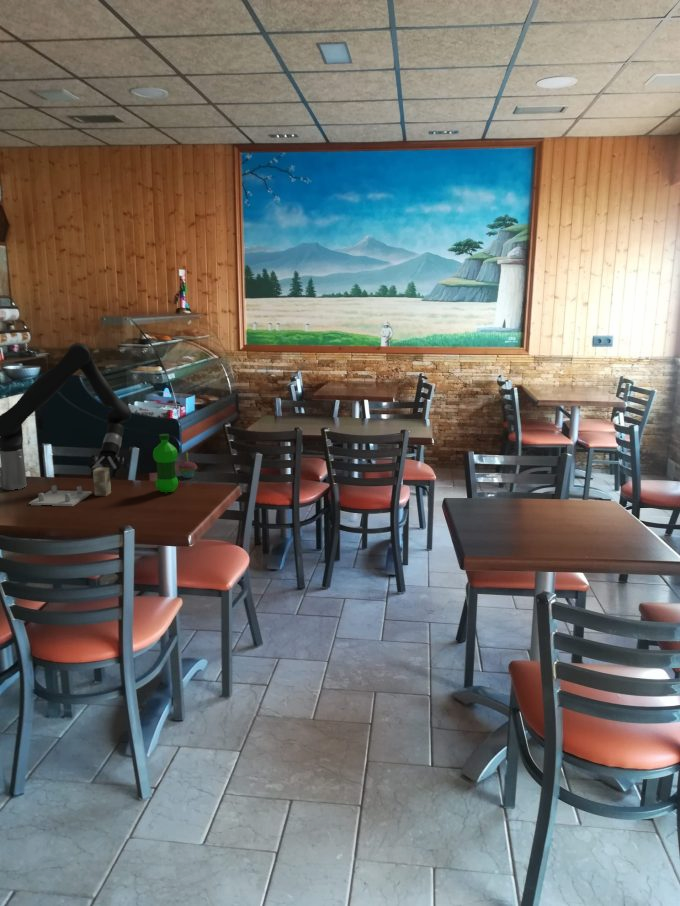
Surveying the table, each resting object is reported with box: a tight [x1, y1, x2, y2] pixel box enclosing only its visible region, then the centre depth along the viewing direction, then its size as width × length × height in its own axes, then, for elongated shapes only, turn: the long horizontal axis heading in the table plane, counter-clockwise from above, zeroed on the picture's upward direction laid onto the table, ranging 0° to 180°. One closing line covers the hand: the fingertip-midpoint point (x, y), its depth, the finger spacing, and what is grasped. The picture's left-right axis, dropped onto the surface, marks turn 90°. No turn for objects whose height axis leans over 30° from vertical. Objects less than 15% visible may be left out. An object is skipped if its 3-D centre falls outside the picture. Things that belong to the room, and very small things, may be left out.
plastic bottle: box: [152, 433, 179, 493], centre depth 291 cm, size 10×10×25 cm
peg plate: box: [28, 484, 93, 507], centre depth 282 cm, size 18×18×4 cm
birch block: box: [92, 467, 112, 497], centre depth 289 cm, size 5×5×11 cm
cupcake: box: [178, 452, 198, 479], centre depth 317 cm, size 9×8×12 cm
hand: (102, 477), depth 289 cm, fingers open, 8 cm apart
